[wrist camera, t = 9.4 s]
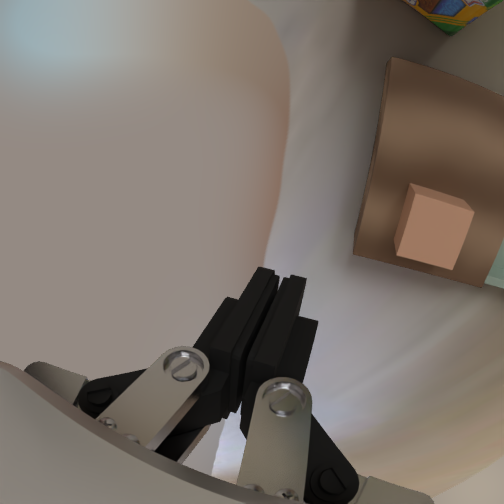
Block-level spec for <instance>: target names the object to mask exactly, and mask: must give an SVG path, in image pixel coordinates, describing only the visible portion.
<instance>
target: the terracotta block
mask: <svg viewBox="0 0 504 504" xmlns="http://www.w3.org/2000/svg"><path fill="white" fill-rule="evenodd" d="M473 215H474V211H473V210H472V209H471V207H470V206H469V205H468V204H467V203H466V202H465V200H463V199H460V198H457V197H454V196H451V195H448V194H445V193H442V192H438V191H435V190H432V189H429V188H425V187H422V186H419V185H415V184H412V183H410V184H409V188H408V192H407V195H406V199H405V203H404V206H403V210H402V213H401V217H400V220H399V224H398V227H397V230H396V234H395V237H394V244H395V249H396V255H398V256H401V257H405V258H409V259H413V260H417V261H420V262H424V263H428V264H431V265H435V266H439V267H443V268H446V269H450V270H453V267H454V265H455V263H456V260H457V258H458V255H459V253H460V250H461V248H462V245H463V243H464V240H465V238H466V235H467V232H468V229H469V227H470V224H471V221H472V218H473Z"/></svg>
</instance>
